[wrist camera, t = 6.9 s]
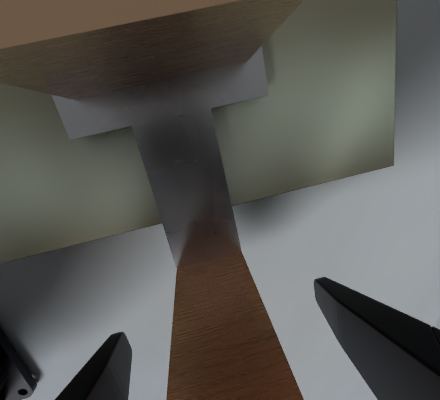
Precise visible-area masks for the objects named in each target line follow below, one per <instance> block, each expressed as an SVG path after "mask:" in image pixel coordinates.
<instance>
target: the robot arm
mask: <svg viewBox="0 0 440 400" xmlns="http://www.w3.org/2000/svg"><path fill="white" fill-rule="evenodd" d="M314 290H315V298H316V301H317V303H318V305H319V307H320V309H321V311H322V313H323V314H324V316H325V318H326V320H327V322H328V324H329V325H330V327H331V329H332V331H333V333H334V335H335V336H336V338H337V340H338V342H339V343H340V345H341V346H342V348H343V349H344V351H345V352H346V354H347V355H348V357H349V358H350V360H351V361H352V363H353V364H354V366H355V367H356V368H357V370H358V371H359V373H360V374H361V376H362V377H363V379H364V380H365V382H366V383H367V385H368V386H369V387H370V389H371V390H372V392H373V393H374V395H375V396H376V398H377V399H378V400H440V329H437V328H435V327H431V326H430V325H428V324H426V323H424V322H422V321H420V320H418V319H415V318H413V317H411V316H409V315H407V314H405V313H402V312H400V311H398V310H396V309H394V308H392V307H389V306H387V305H385V304H383V303H381V302H378V301H376V300H374V299H372V298H370V297H368V296H365V295H363V294H361V293H359V292H357V291H355V290H352V289H350V288H348V287H346V286H344V285H342V284H339V283H337V282H335V281H333V280H331V279H328V278H326V277H321V278H318V279H315V280H314ZM131 361H132V349H131V346H130V344H129V342H128V340H127V337H126V335H125V333H124V332H118V333H115V334H112V335H111V336H110V337H109V338H108V339H107V340H106V341H105V342H104V343H103V345H102V346H101V347H100V348H99V349H98V350H97V352H96V353H95V354H94V355H93V356H92V357H91V358H90V360H89V361H88V362H87V363H86V364H85V365H84V367H83V368H82V369H81V370H80V371H79V372H78V374H77V375H76V376H75V377H74V378H73V379H72V380H71V382H70V383H69V384H68V385H67V386H66V387H65V389H64V390H63V391H62V392H61V393H60V394H59V395H58V397H57V398H56V399H55V400H128V395H129V383H130V372H131ZM36 386H37V384H36V382H35V380H34V379H33V377H32V376H31V374H30V373H29V371H28V370H27V368H26V367H25V365H24V364H23V362H22V361H21V359H20V358H19V356H18V355H17V353H16V352H15V350H14V348H13V347H12V345H11V344H10V342H9V341H8V339H7V338H6V336H5V335H4V333H3V332H2V330H1V329H0V400H22V399H25V398H28V397H30V396H31V395H32V394H33V392H34V390H35V389H36Z"/></svg>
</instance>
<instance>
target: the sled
mask: <svg viewBox="0 0 440 400" xmlns="http://www.w3.org/2000/svg"><path fill="white" fill-rule="evenodd" d="M303 1H304V0H0V83H1V84H6V85H10V86H15V87H19V88H24V89H28V90H33V91H37V92H41V93H46V94H50V95H52V98H53V100H54V103H55V105H56V108H57V110H58V112H59V115H60V117H61V120H62V122H63V125H64V127H65V130H66V132H67V135H68V137H69V139H70V140H73V139H81V138H86V137H90V136H94V135H99V134H103V133H108V132H112V131H117V130H121V129H125V128H130V127H132V130H133V133H134V136H135V139H136V142H137V145H138V149H139V152H140V155H141V158H142V161H143V164H144V167H145V170H146V173H147V177H148V180H149V183H150V186H151V189H152V192H153V195H154V198H155V202H156V205H157V208H158V211H159V214H160V217H161V220H162V223H163V226H164V230H165V233H166V236H167V239H168V242H169V245H170V248H171V251H172V255H173V258H174V261H175V264H176V267H177V274H176V287H175V299H174V312H173V324H172V337H171V350H170V362H169V375H168V387H167V400H304V399H303V397H302V394H301V392H300V390H299V387H298V385H297V383H296V380H295V378H294V375H293V373H292V371H291V368H290V366H289V364H288V361H287V359H286V356H285V354H284V352H283V349H282V347H281V345H280V342H279V340H278V337H277V335H276V333H275V330H274V328H273V325H272V323H271V321H270V318H269V316H268V314H267V311H266V309H265V306H264V304H263V302H262V299H261V297H260V295H259V292H258V290H257V287H256V285H255V283H254V280H253V278H252V276H251V273H250V271H249V268H248V266H247V264H246V261H245V259H244V257H243V254H242V252H241V247H240V243H239V238H238V233H237V228H236V224H235V219H234V214H233V210H232V205H231V200H230V196H229V191H228V186H227V182H226V177H225V172H224V168H223V163H222V158H221V153H220V149H219V144H218V139H217V135H216V130H215V125H214V121H213V116H212V111H211V109H214V108H219V107H223V106H227V105H232V104H236V103H241V102H245V101H250V100H254V99H258V98H262V97H265V96H267V95H269V94H268V87H267V80H266V72H265V65H264V58H263V51H262V45H263V44H264V43H265V42H266V41H267V40H268V38H269V37H270V36H271V35H272V34H273V33H274V32H275V31H276V30H277V29H278V28H279V27H280V25H281V24H282V23H283V22H284V21H285V20H286V19H287V18H288V17H289V16H290V15H291V14H292V12H293V11H294V10H295V9H296V8H297V7H298V6H299V5H300V4H301V3H302V2H303Z"/></svg>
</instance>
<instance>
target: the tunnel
mask: <svg viewBox="0 0 440 400" xmlns="http://www.w3.org/2000/svg"><path fill="white" fill-rule="evenodd" d="M396 6H397V0H304V1H303V2H302V3H301V4H300V5H299V6H298V7H297V8H296V9H295V10H294V11H293V12H292V14H291V15H290V16H289V17H288V18H287V19H286V20H285V21H284V22H283V23H282V24H281V25H280V27H279V28H278V29H277V30H276V31H275V32H274V33H273V34H272V35H271V36H270V37H269V38H268V40H267V41H266V42H265V43H264V44H263V45H262V51H263V58H264V65H265V72H266V80H267V87H268V94H269V95H267V96H265V97H262V98H258V99H254V100H250V101H245V102H241V103H236V104H232V105H227V106H223V107H219V108H214V109H211V111H212V116H213V121H214V125H215V130H216V135H217V139H218V144H219V149H220V153H221V158H222V163H223V168H224V172H225V177H226V182H227V186H228V191H229V196H230V200H231V205H232V206H233V205H237V204H241V203H245V202H249V201H253V200H257V199H261V198H265V197H269V196H273V195H277V194H281V193H285V192H289V191H293V190H297V189H301V188H305V187H309V186H313V185H317V184H321V183H325V182H329V181H333V180H337V179H341V178H345V177H349V176H353V175H357V174H361V173H365V172H370V171H374V170H378V169H382V168H386V167H390V166H394V116H395V61H396ZM161 223H162V220H161V217H160V214H159V211H158V208H157V205H156V202H155V198H154V195H153V192H152V189H151V186H150V183H149V180H148V177H147V173H146V170H145V167H144V164H143V161H142V158H141V155H140V152H139V149H138V145H137V142H136V139H135V136H134V133H133V130H132V127H130V128H125V129H121V130H117V131H112V132H108V133H103V134H99V135H94V136H90V137H86V138H81V139H73V140H70V139H69V137H68V135H67V132H66V130H65V127H64V125H63V122H62V120H61V117H60V115H59V112H58V110H57V108H56V105H55V103H54V100H53V98H52V95H50V94H46V93H41V92H37V91H33V90H28V89H24V88H19V87H15V86H10V85H6V84H1V83H0V263H4V262H8V261H12V260H16V259H20V258H24V257H28V256H32V255H36V254H40V253H44V252H48V251H52V250H56V249H60V248H64V247H68V246H72V245H76V244H80V243H84V242H88V241H92V240H96V239H100V238H104V237H108V236H113V235H117V234H121V233H125V232H129V231H133V230H137V229H141V228H145V227H149V226H153V225H157V224H161Z"/></svg>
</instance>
